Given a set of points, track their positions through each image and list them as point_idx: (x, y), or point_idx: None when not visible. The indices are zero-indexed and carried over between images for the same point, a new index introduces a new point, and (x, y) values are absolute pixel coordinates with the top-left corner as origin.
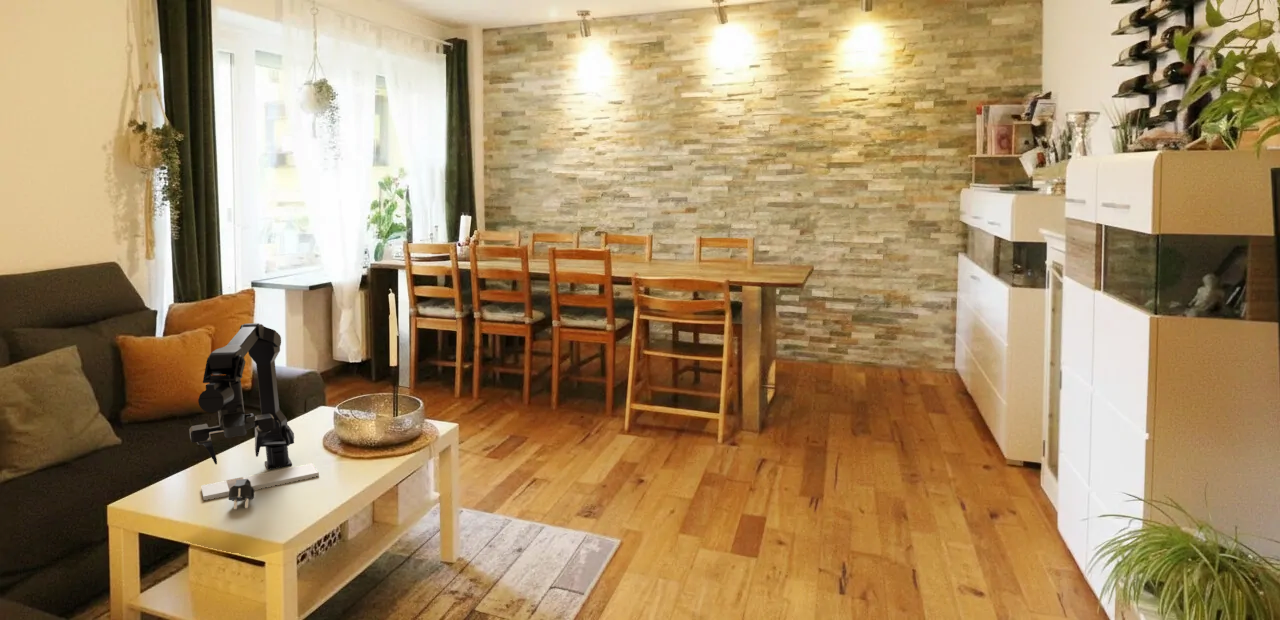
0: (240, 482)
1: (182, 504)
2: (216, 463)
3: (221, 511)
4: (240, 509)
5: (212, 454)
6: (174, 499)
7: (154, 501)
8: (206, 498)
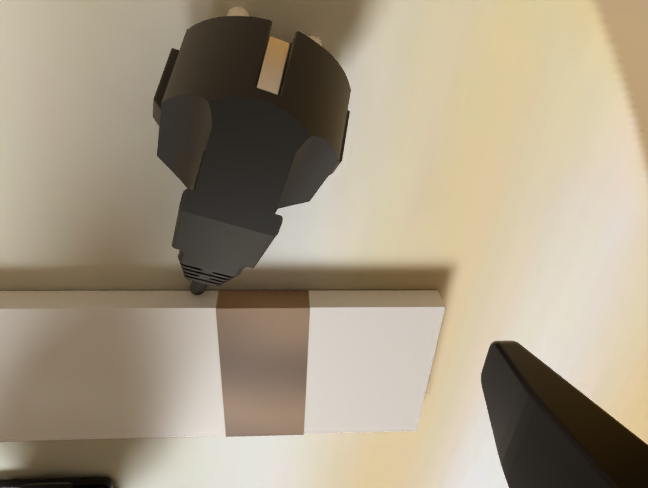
0: (247, 168)
1: (532, 301)
2: (506, 344)
3: (396, 71)
4: (280, 22)
5: (643, 466)
6: None
7: (604, 390)
8: (427, 297)
